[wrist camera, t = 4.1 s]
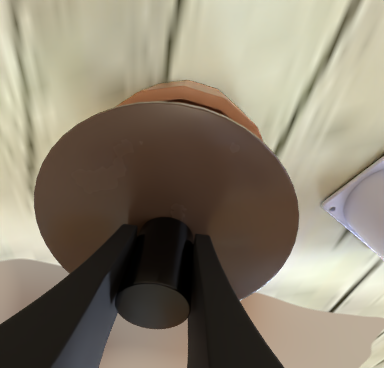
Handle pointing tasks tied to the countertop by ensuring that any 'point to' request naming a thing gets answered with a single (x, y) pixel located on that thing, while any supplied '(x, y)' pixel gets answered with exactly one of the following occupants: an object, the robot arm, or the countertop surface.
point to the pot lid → (167, 202)
